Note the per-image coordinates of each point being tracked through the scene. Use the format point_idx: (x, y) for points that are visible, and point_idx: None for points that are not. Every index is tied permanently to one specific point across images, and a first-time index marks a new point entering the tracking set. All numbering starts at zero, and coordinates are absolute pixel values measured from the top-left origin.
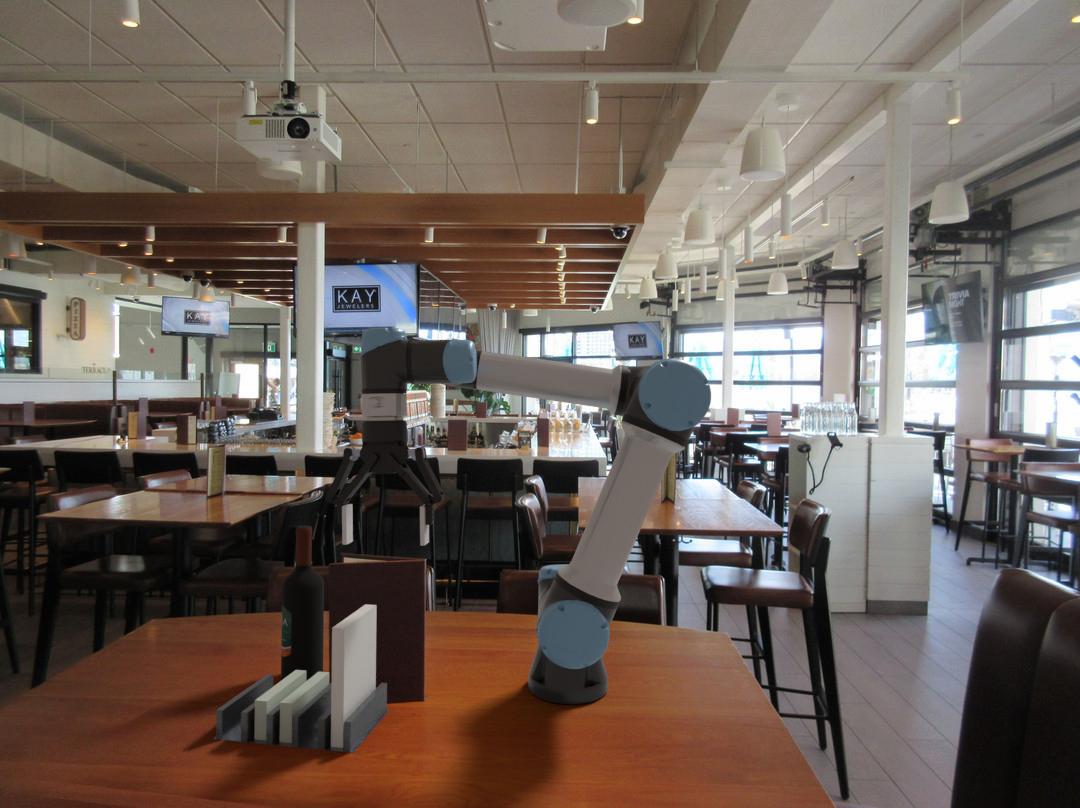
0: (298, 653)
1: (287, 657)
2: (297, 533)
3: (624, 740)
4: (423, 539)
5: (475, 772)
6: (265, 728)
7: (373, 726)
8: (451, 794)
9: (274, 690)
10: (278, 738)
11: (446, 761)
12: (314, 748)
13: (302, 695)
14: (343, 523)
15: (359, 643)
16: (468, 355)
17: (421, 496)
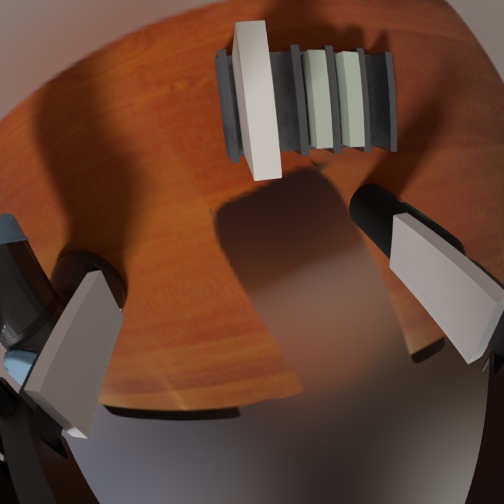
0: (387, 200)
1: (396, 197)
2: None
3: (13, 207)
4: (82, 284)
5: (89, 96)
6: None
7: (223, 114)
8: (96, 57)
9: (353, 81)
10: None
11: (121, 99)
12: None
13: (310, 74)
14: (453, 251)
15: (241, 94)
16: None
17: (21, 442)
